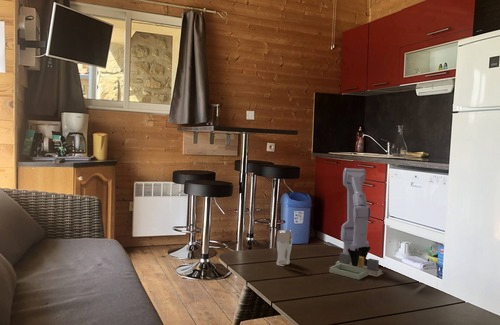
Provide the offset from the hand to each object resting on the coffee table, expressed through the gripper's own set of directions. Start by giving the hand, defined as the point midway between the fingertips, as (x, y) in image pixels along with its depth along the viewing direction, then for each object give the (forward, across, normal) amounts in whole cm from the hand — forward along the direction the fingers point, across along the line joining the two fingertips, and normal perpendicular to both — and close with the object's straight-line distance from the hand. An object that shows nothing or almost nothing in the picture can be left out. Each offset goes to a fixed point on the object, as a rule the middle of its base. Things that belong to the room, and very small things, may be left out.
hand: (358, 264), depth 180 cm
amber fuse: (+2, 0, 0) cm, 2 cm away
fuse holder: (+3, 0, 0) cm, 3 cm away
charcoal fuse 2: (+2, 0, -6) cm, 7 cm away
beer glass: (+3, -16, +28) cm, 33 cm away
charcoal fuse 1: (+2, 0, +6) cm, 7 cm away
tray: (+3, -9, 0) cm, 10 cm away
